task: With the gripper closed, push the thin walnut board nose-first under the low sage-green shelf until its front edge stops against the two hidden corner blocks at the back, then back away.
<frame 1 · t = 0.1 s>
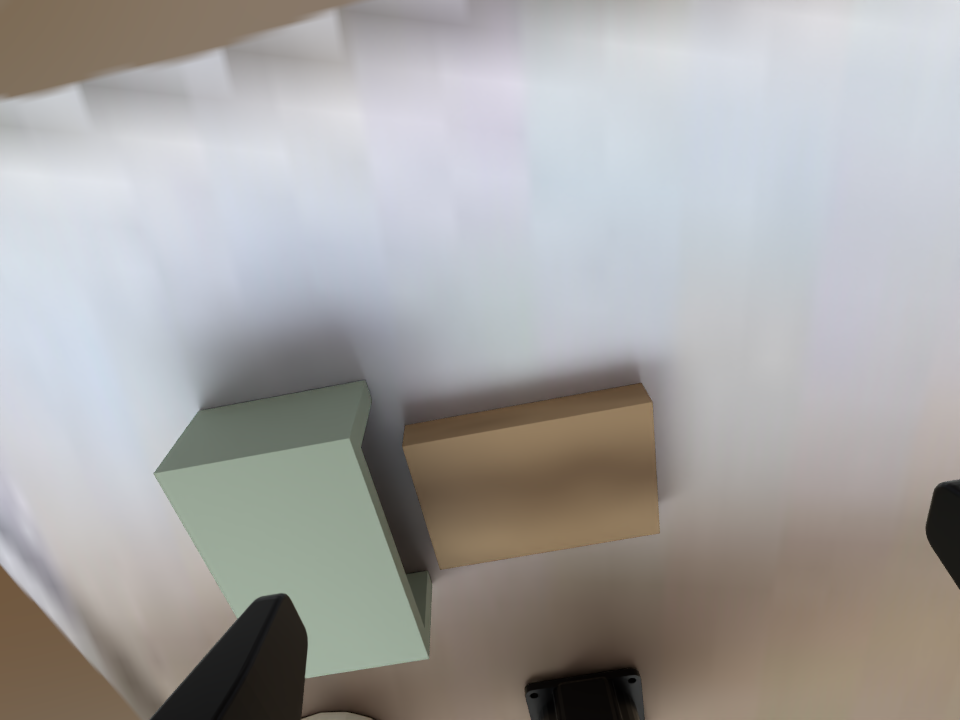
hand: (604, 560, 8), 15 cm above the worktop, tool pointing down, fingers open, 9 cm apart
board: (532, 463, 26), on the worktop
shelf: (327, 506, 26), on the worktop
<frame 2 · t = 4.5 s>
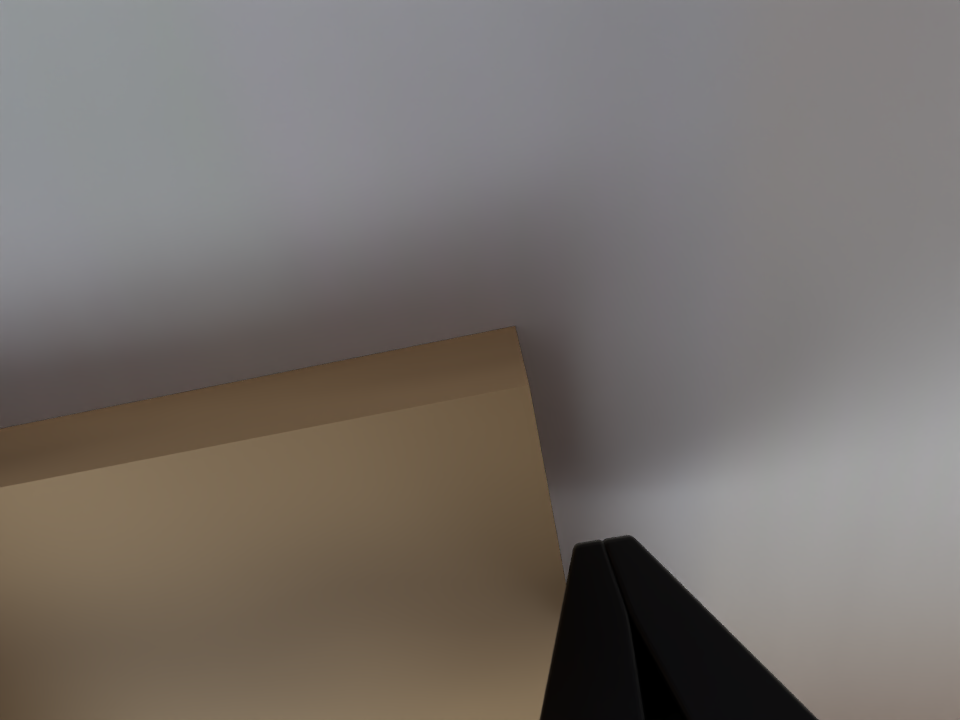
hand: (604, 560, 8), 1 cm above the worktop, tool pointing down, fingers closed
board: (256, 557, 10), on the worktop, touching gripper
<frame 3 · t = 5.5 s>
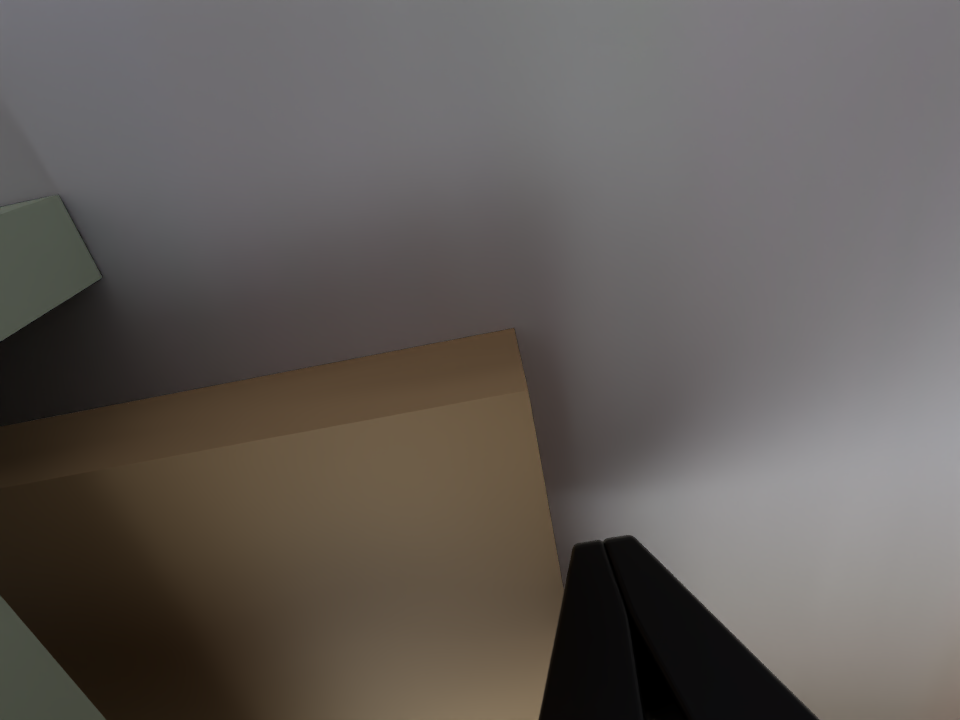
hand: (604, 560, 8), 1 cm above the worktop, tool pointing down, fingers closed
board: (253, 559, 10), on the worktop
shelf: (51, 605, 9), on the worktop
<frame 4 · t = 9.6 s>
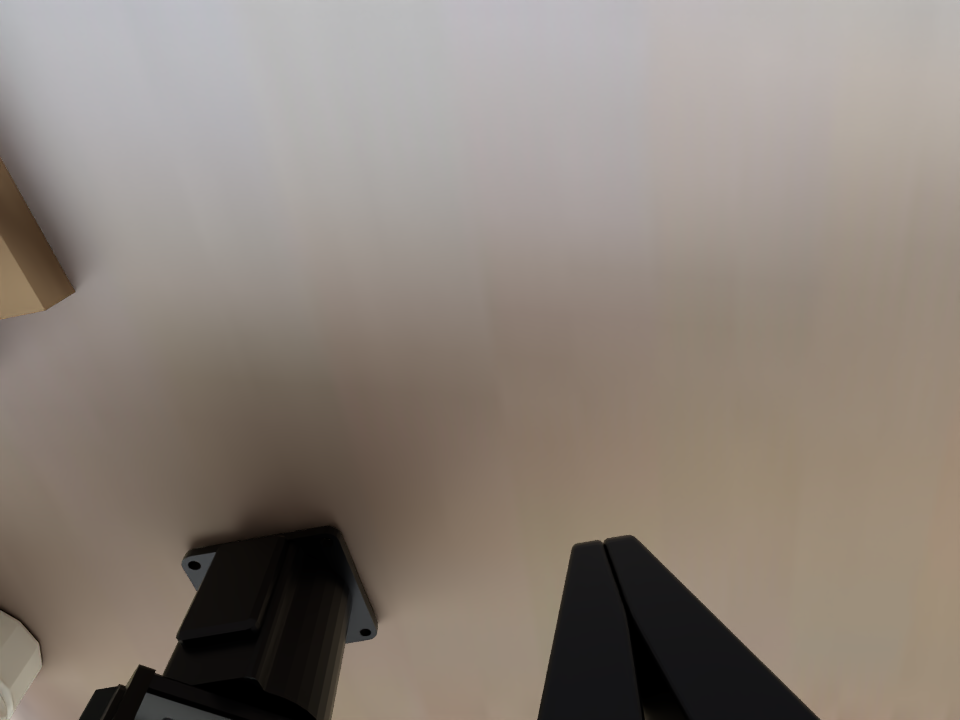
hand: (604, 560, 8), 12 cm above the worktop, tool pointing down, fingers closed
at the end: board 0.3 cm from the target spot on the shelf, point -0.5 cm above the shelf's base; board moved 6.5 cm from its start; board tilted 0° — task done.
